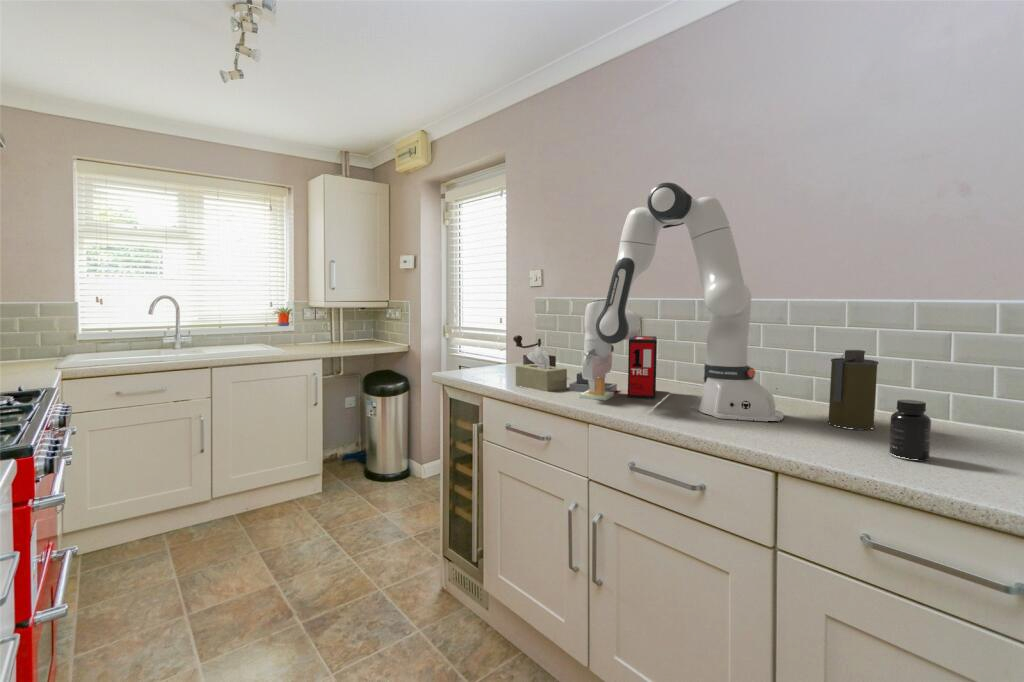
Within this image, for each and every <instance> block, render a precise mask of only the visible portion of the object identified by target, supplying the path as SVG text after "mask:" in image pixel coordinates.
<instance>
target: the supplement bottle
mask: <svg viewBox="0 0 1024 682" xmlns="http://www.w3.org/2000/svg"><path fill="white" fill-rule="evenodd" d="M926 405H927V403H926V402H925V401H922V400H914V399H898V400H897V401H896V410H897V411H895V412H894V413H892V414H891V416H890V428H889V429H890V430H889V445H888V446H889V454H890V453H892V454H894V455H896V456H900V457H905V458H909V459H918V460H926V459H928V460H929V459H930V456H931V455H930V454H931V453H930V452H931V433H932V419H931V418H930V417H929V416H928V415H927V414H925V413H926V412H927V408H926ZM926 461H927V460H926Z"/></svg>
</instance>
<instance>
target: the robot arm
mask: <svg viewBox="0 0 1024 682" xmlns="http://www.w3.org/2000/svg"><path fill="white" fill-rule="evenodd" d="M646 201H647V203H646V204H647V206H639V207H635V208H633V209H631V210H630V211H629V212H628V214H627V216H626V219H625V222H624V224H623V228H622V231H621V235H620V242H619V246H618V253H617V258H616V262H615V266H614V269H613V272H612V277H611V279H610V284H609V288H608V292H607V296H606V298H604V299H597V300H592V301H589V302H588V303H587V305H586V307H585V312H584V325H583V326H584V329H585V330H584V331H585V335H584V340H583V345H584V347H583V353H584V354H585V355H584V356H583V359H582V369H581V372H582V377H583V379H587V380H588V383H589V390H590V392H594V391H596V386H595V381H596V378H603V379H605V380H606V374H610V373H611V370H612V364H613V353H614V350H615V346H614V345H613V344H618V343H620V342H622V341H626V340H629V339H630V338H632V337H634V336H638V333H639V332H640V330H641V326H642V324H641V319H640V317H639V316H638V314H637V313H635V312H634V311H632V310H629V309H627V306H628V301H629V297H630V293H631V289H632V287H633V283H634V282H635V280H636V279H637V278H638V277H639V276H640V275H641V274H642V273H643V272H646V271H647V269H649V268H650V267H651V264H652V261H653V259H654V256H655V251H656V248H657V247H656V246H657V241H658V237H659V236H658V235H659V232H660V231H661V230H662V228H663V229H668V228H673V227H677V226H681V225H682V226H683V225H685V226H686V228H687V230H688V233H689V236H690V241H691V244H692V248H693V251H694V256H695V259H696V263H697V266H698V270H699V273H698V274H699V278H700V279H699V280H700V285H701V289H702V295H703V299H704V304H705V307H706V308H707V310H708V311H709V313H710V314H709V323H708V324H709V325H708V331H707V335H706V353H705V354H706V359H705V364H704V368H703V382H704V385H703V393H702V398H701V401H700V405H699V407H698V411H699V412H701V413H703V414H705V415H706V414H707V415H709V416H712V417H715V418H717V419H723V420H737V419H738V420H740V421H753V420H754V421H755V422H768V421H778V422H780V420H781V421H783V420H782V419H784V412H783V411H781V410H779V409H777V408H776V402H775V398H774V396H773V394H772V392H770V390H768V389H767V388H766V387H765V386H763V385H762V384H760V383H759V382H758V381H757V380H756V379H754V378H755V375H756V370H755V369H754V368H753V367H751V366H749V365H748V363H747V362H748V343H749V342H748V341H749V330H750V320H751V311H752V310H751V308H752V293H751V290H750V288H749V287H748V286H747V285H746V284H745V281H744V277H743V273H742V269H741V263H740V259H739V253H738V250H737V247H736V246H737V245H736V243H735V239H734V235H733V232H732V229H731V226H730V222H729V220H728V217H727V216H728V215H727V214H726V211H725V210H724V208H723V206H722V204H721V202H720V200H719V199H717V198H716V197H714V196H709V195H708V196H702V197H701V196H700V197H699V198H693V197H692V195H691V194H690V193H688V191H687V190H686V189H685V188H683V187H682V186H680V185H678V184H676V183H674V182H662V183H659V184H657V185H656V186H654V187H653V188H652V189H651V190H650V192H649V194H648V197H647V200H646Z"/></svg>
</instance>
